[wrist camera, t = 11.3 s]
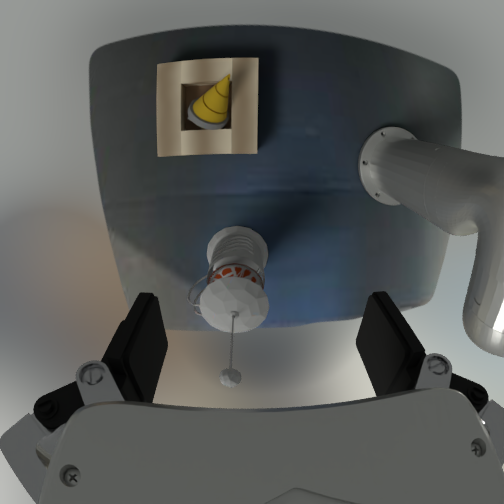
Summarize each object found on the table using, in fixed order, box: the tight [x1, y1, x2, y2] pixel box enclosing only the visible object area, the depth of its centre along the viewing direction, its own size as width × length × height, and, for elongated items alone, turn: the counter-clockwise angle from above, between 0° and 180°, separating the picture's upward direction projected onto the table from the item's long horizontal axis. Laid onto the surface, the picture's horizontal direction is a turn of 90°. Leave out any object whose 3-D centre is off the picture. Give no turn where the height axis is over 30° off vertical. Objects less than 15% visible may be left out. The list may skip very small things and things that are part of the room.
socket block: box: [157, 58, 258, 157], centre depth 32 cm, size 13×13×4 cm
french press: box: [187, 226, 269, 388], centre depth 33 cm, size 10×12×25 cm
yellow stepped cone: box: [187, 74, 230, 130], centre depth 30 cm, size 5×5×10 cm
